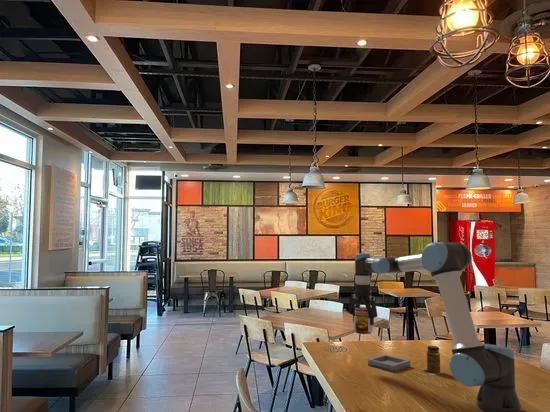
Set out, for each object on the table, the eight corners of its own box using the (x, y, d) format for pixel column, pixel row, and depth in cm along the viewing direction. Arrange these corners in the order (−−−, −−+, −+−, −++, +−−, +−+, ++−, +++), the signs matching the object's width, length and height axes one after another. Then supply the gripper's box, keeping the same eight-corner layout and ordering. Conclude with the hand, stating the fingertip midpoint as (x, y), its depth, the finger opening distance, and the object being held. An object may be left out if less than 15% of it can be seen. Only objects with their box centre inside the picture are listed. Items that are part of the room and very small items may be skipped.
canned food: (353, 333, 205) (353, 308, 206) (357, 330, 212) (357, 306, 213) (369, 334, 202) (368, 309, 203) (372, 332, 209) (372, 307, 210)
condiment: (444, 372, 201) (443, 347, 202) (433, 375, 197) (432, 349, 198) (431, 368, 207) (430, 344, 208) (420, 371, 203) (419, 346, 204)
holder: (393, 372, 200) (393, 365, 201) (368, 365, 212) (368, 359, 212) (410, 366, 210) (410, 360, 211) (385, 360, 222) (385, 354, 222)
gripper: (384, 285, 204) (385, 332, 202) (350, 282, 219) (351, 326, 217) (376, 285, 199) (376, 334, 197) (341, 282, 214) (342, 327, 212)
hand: (363, 330), depth 207 cm, fingers closed on canned food, 8 cm apart
